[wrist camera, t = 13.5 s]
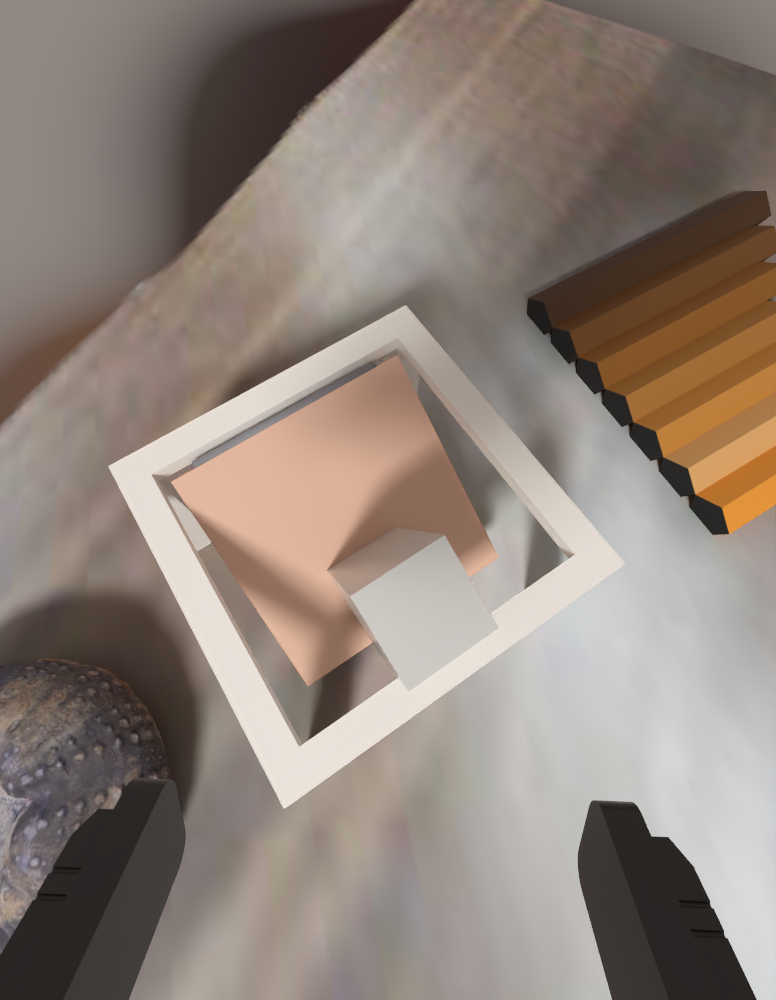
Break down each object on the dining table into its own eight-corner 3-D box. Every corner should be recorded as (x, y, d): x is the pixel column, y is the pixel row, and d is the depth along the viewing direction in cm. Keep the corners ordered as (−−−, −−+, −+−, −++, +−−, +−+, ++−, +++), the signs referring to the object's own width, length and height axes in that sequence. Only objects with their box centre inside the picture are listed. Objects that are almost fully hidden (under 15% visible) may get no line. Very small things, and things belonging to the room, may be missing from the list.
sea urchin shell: (-189, 872, 33) (-378, 892, 24) (64, 626, 41) (-9, 577, 33) (14, 1107, 29) (-129, 1233, 20) (250, 778, 37) (222, 767, 28)
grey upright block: (394, 527, 34) (444, 534, 24) (434, 593, 34) (499, 627, 24) (327, 570, 33) (349, 596, 23) (368, 637, 33) (408, 691, 24)
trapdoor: (389, 351, 33) (394, 348, 32) (491, 554, 37) (498, 557, 36) (168, 474, 30) (166, 475, 29) (305, 679, 34) (308, 686, 33)
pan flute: (730, 210, 53) (522, 314, 49) (752, 178, 50) (531, 287, 45) (941, 398, 45) (713, 542, 41) (982, 374, 42) (739, 528, 37)
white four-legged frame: (403, 405, 45) (405, 304, 34) (558, 605, 38) (625, 563, 27) (187, 532, 41) (108, 466, 30) (320, 776, 35) (284, 808, 24)
